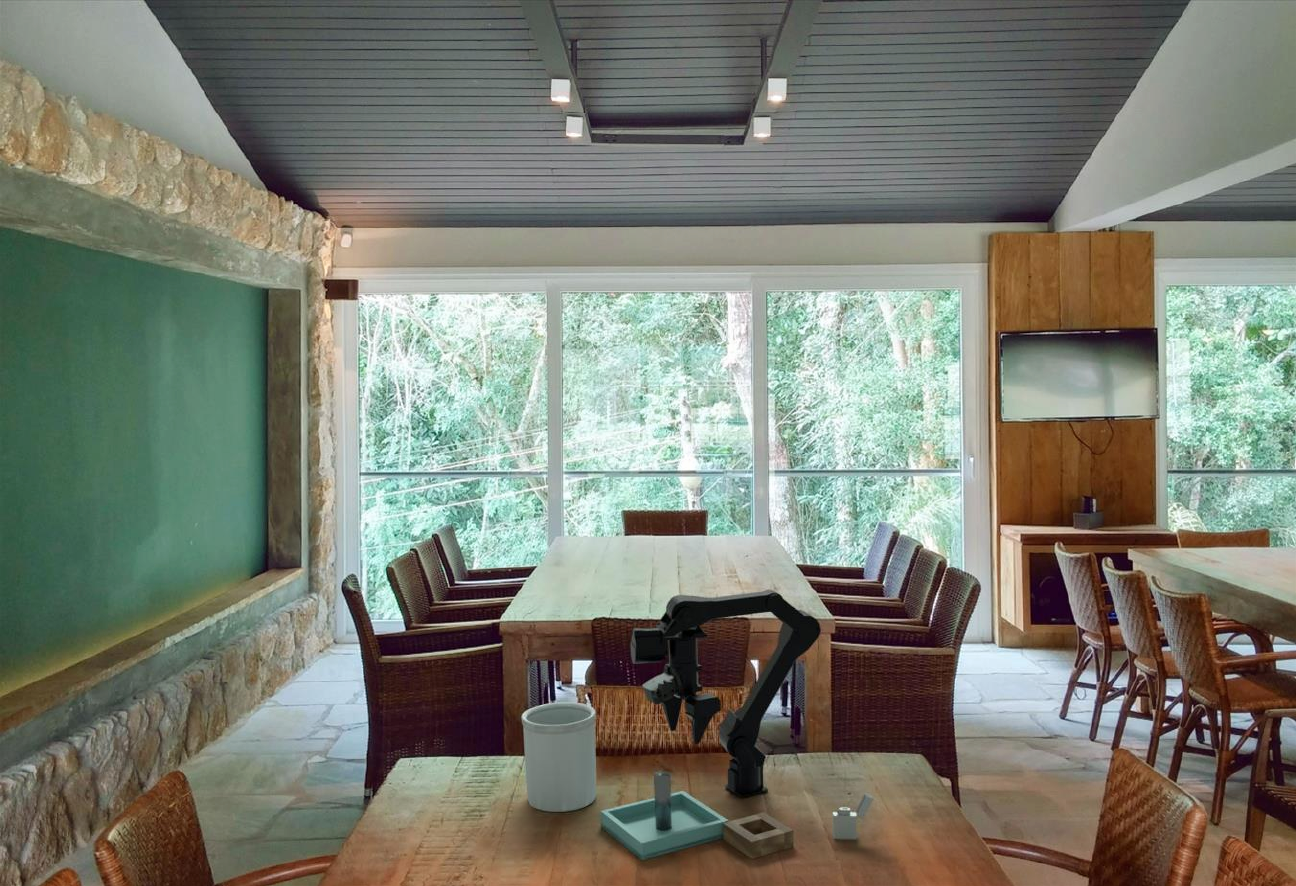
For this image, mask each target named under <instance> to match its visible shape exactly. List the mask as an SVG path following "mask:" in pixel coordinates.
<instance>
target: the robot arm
mask: <svg viewBox="0 0 1296 886" xmlns="http://www.w3.org/2000/svg"><path fill="white" fill-rule="evenodd" d="M762 613H765V614H766V613H771V614H772V615H773V616H774V617H776V618H777V619H778V620H779V621H780V622H781V623H782V624H781V626H780V628H779V631H778V632H779V633H778V638H777V639H778V640H777V645H776V648H775V649H774V651H773V653H772V655H771V656H770V658H769V659H768V662H767V663H766V665H765V667H764V668H763V670H762V671H761V674H760V675H759V677H758V678H757V680H756V681H755V683H754V686H753V688H752V689H751V691H750V692H749V694H748V696H747V698H746V699H745V701H744V702H743V704H742V706H741V707H740V708H738V709H737V710H736V711H735V712H734V711H733V710H732V709H728V710H727V712H726V714H725V717H724V718H723V720H722V721H721V722H719V724H718V727H719V730H718V738H719V739H718V740H719V741H720V744H721V745H722V747H724V749H725V751H726V752H727V753H728V755H730V756H731V758H732V759H729V761H728V762H729V763H728V764H729V765H728V768H727V784H725V786H724V788H725V789H727V790H728V791H730V792H731V793H734V794H735V795H737V796H738V797H741V798H748V797H750V796H754V795H758V794H763V793H766V792H768V791H769V788H768V787H766V786H765V785H764V764H765V761H766V758H767V757H766V755H765V753H763V751H762V750H761V749H760V748H759V746H758V745H757V742H758V739H759V734H760V729H761V725H762V724H761V723H762V720H763V717H764V716H765V714H766V713H767V711H768V709H769V708H770V706H771V704H772V702H773V701H774V699H775V697H776V695H777V693H778V692H779V691H780V688H781V687H782V685H783V683H784V681H785V680H786V678H787V677H788V675H789V673H790V671H791V669H792V668H793V667H794V664H795V663H796V661H797V659H798V658H800V657H801V656H802V655H804V654H805V653H807V651H809V650H810V649H811V648H812V646H813V645H814V644H815V642H816V641H817V640H818V639H819V637H820V635H821V633H822V629H821V625H820V623H819V621H818V619H816V618H815V617H814V616H812V615H811V614H809V613H808V612H806V611H804V610H802V609H797V608H795V606H793V605H792V604H790V603H789V602H788V601H787V600H786V599H784V597H783V596H782V595H781V594H780V593H778V592H777V591H776V590H773V589H765V590H763V591H756V592H755V591H754V592H746V593H739V594H733V595H732V594H731V595H721V596H716V597H715V596H714V597H707V596H706V597H705V596H698V595H688V594H677V595H674V596H672V597H671V598H670V599H669V600H668V602H667V604H666V606H665V611H664V614H663V615H662V616H661V618H660V619H659V621H658V622H657V624H656V627H652V628H641V627H635V628H634V627H633V629H632V635H631V642H630V656H631V662H632V664H633V665H634V664H649V663H651V664H652V663H661V662H663V660H665V659H666V657H667V656H668V663H666V664H664V666H663V672H662V673H661V674H659V675H656V676H655V677H652V678H651V679H649V680H648V681H646V682H644V683H643V684H642V686H641V687H642V689H643V692H644V695H645V697H646V700H647V701H648V702H651V703H652V704H654V705H661V706H662V709H663V712H664V716H665V717H666V721H667V724H668V727H669V730H670V731H671V732H674V731H676V730H677V726H678V723H679V718H680V714H681V709H682V703H683V701H684V708H685V712H684V714H685V715H686V716H687V717H688V718H689V719H690V724H691V735H692V740H693V741H692V742H693V744H694V745H700V743H701V741H702V739H703V737H704V734H705V733H706V730H707V728H708V726H709V724H710V722H711V720H712V719H713V717H714V715H717V714H718V712H721V711H722V700H721V699H720V698H719V697H718V696H716V695H714V694H712V693H709V692H703V686H702V685H701V684H699V672H701V671H702V672H703V665H701V664H699V663H698V662H699V659H698V657H699V656H698V655H699V654H698V639H704V638H705V639H706V638H708V634H707V633H706V631H704V630H703V629H702V627H701V626H703V625H705V624H707V623H709V622H711V621H713V620H718V619H723V618H724V619H725V618H733V617H741V616H746V615H747V616H748V615H757V614H762ZM699 692H703V693H699Z"/></svg>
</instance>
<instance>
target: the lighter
mask: <svg viewBox="0 0 1296 886" xmlns="http://www.w3.org/2000/svg"><path fill="white" fill-rule="evenodd" d="M861 798H862V799H861V800H860V803H859V804H858V807H857V809H856V810H855V811H851V808H850V807H839V808H838V809H837V810H836V811H833V812H832V838H833V840H857V839H858V832H857V831H858V830H857V829H858V828H857V827H858V825H857V824H858V823H857V819H858V818H860V819H862V820H864V819H865V817H866V815H867V813H868V811H869V808H870V806H871V805H872V803H873V802H874V801H873V800H874V797H873V795H872V794H869V793H867V792H864V794H863V797H861ZM857 817H858V818H857Z"/></svg>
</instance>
